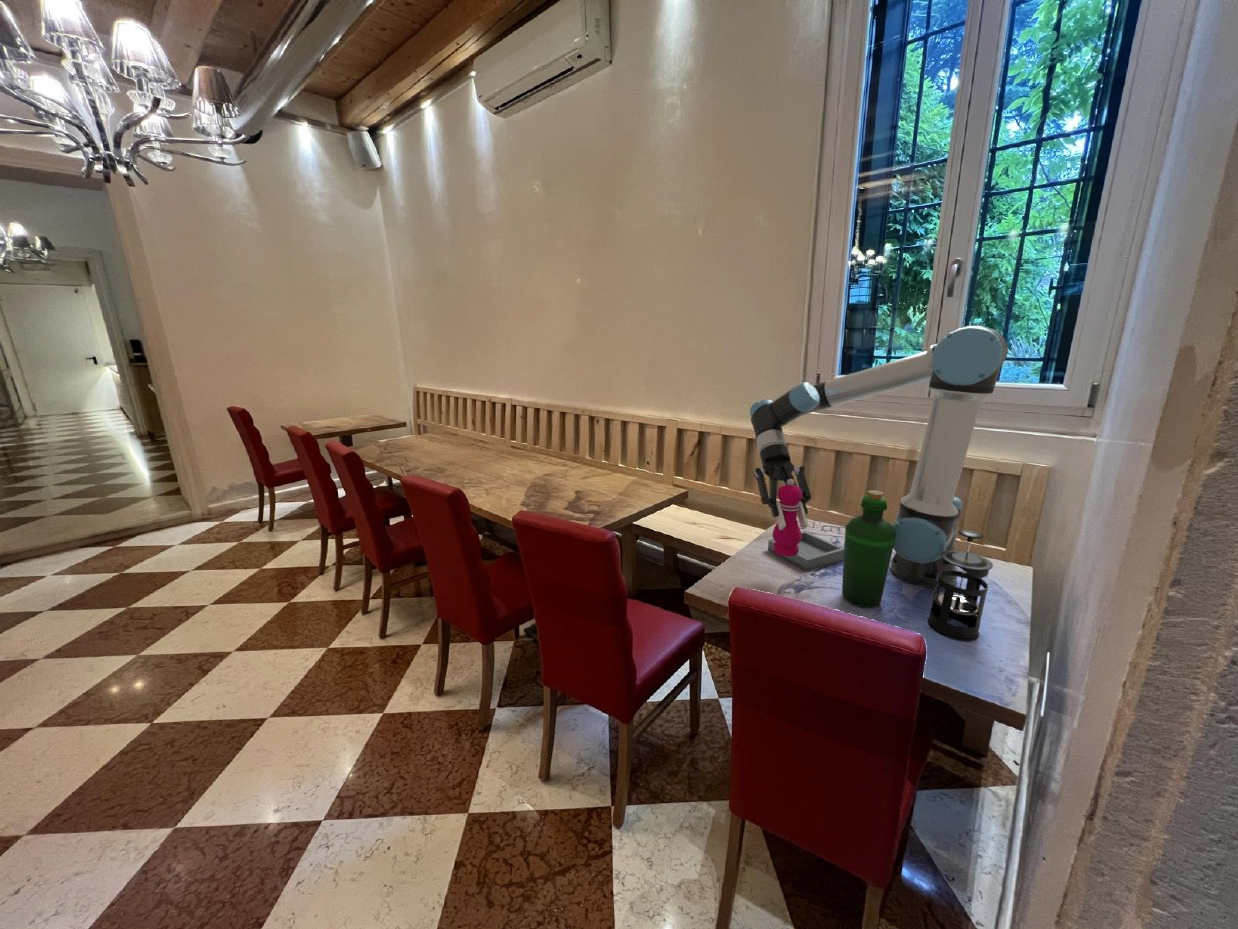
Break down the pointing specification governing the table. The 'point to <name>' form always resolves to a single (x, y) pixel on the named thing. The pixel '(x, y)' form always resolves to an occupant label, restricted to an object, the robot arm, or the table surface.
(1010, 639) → the table surface
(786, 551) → the pepper mill
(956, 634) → the french press
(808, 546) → the tray
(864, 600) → the bottle
